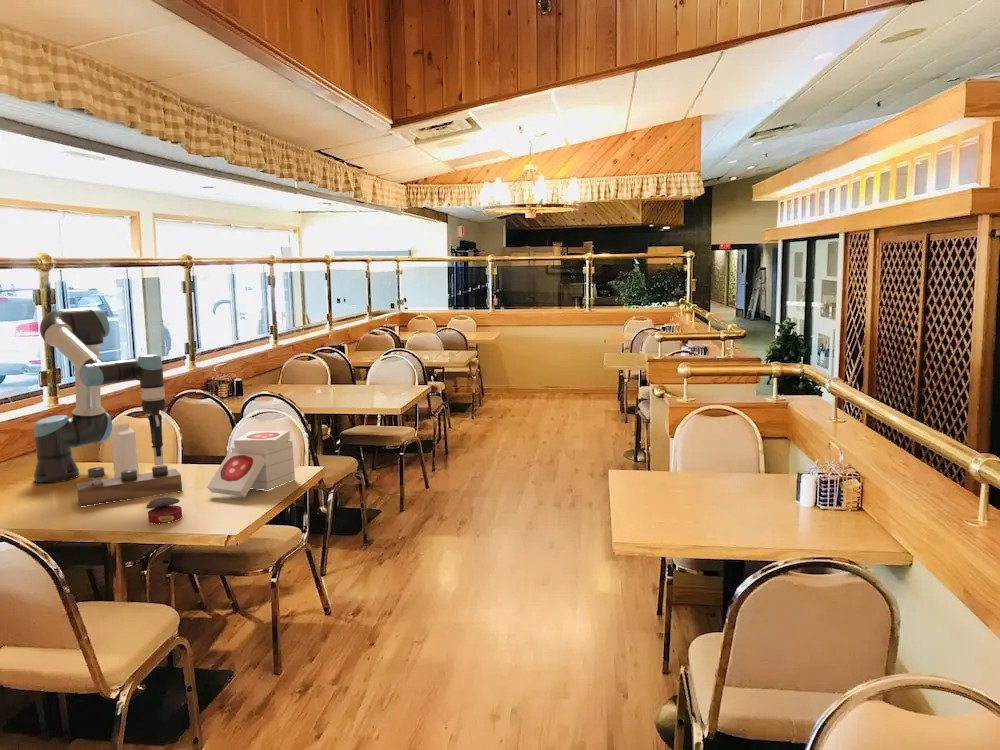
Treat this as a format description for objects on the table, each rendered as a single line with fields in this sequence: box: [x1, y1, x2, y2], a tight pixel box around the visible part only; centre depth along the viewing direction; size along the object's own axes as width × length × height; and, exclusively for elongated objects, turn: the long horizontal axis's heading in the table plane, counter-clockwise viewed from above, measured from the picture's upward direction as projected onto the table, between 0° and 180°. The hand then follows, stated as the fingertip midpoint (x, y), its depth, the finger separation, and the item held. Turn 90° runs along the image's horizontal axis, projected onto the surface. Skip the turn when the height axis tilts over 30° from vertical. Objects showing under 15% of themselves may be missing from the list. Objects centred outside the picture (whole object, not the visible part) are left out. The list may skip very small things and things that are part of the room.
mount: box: [76, 468, 183, 508], centre depth 274 cm, size 10×32×6 cm, turn 121°
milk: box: [110, 422, 140, 478], centre depth 291 cm, size 6×6×22 cm
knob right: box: [151, 464, 169, 476], centre depth 279 cm, size 5×5×7 cm
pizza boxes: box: [206, 430, 296, 498], centre depth 279 cm, size 19×30×18 cm, turn 156°
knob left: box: [87, 466, 106, 486], centre depth 269 cm, size 5×5×7 cm
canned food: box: [145, 496, 183, 525], centre depth 248 cm, size 11×10×10 cm
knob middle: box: [121, 470, 137, 481], centre depth 274 cm, size 5×5×7 cm
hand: (159, 464), depth 279 cm, fingers closed
